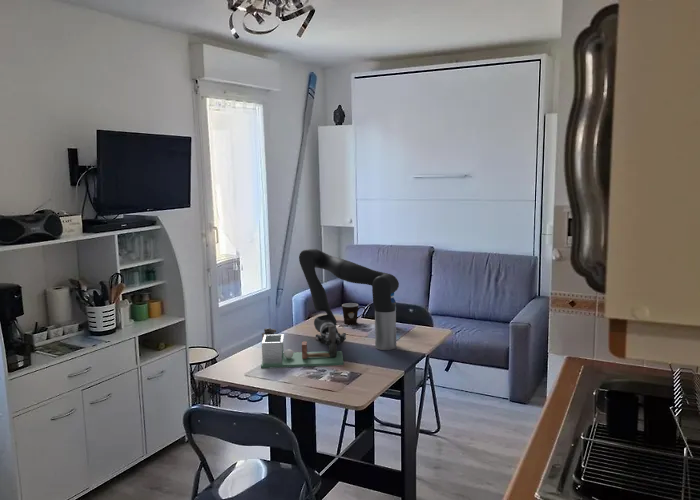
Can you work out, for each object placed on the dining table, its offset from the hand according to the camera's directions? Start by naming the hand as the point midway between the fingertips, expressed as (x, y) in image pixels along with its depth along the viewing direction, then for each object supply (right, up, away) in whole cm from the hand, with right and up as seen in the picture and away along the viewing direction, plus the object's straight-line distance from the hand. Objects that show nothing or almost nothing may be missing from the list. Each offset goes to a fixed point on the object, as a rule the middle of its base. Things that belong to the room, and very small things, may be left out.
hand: (333, 343), depth 244 cm
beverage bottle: (+26, -1, +51) cm, 57 cm away
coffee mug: (+9, 0, +60) cm, 61 cm away
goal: (-25, -7, +2) cm, 26 cm away
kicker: (-6, -6, +3) cm, 9 cm away
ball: (-19, -5, +2) cm, 20 cm away
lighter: (-29, -6, +18) cm, 35 cm away
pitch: (-13, -8, +3) cm, 16 cm away
